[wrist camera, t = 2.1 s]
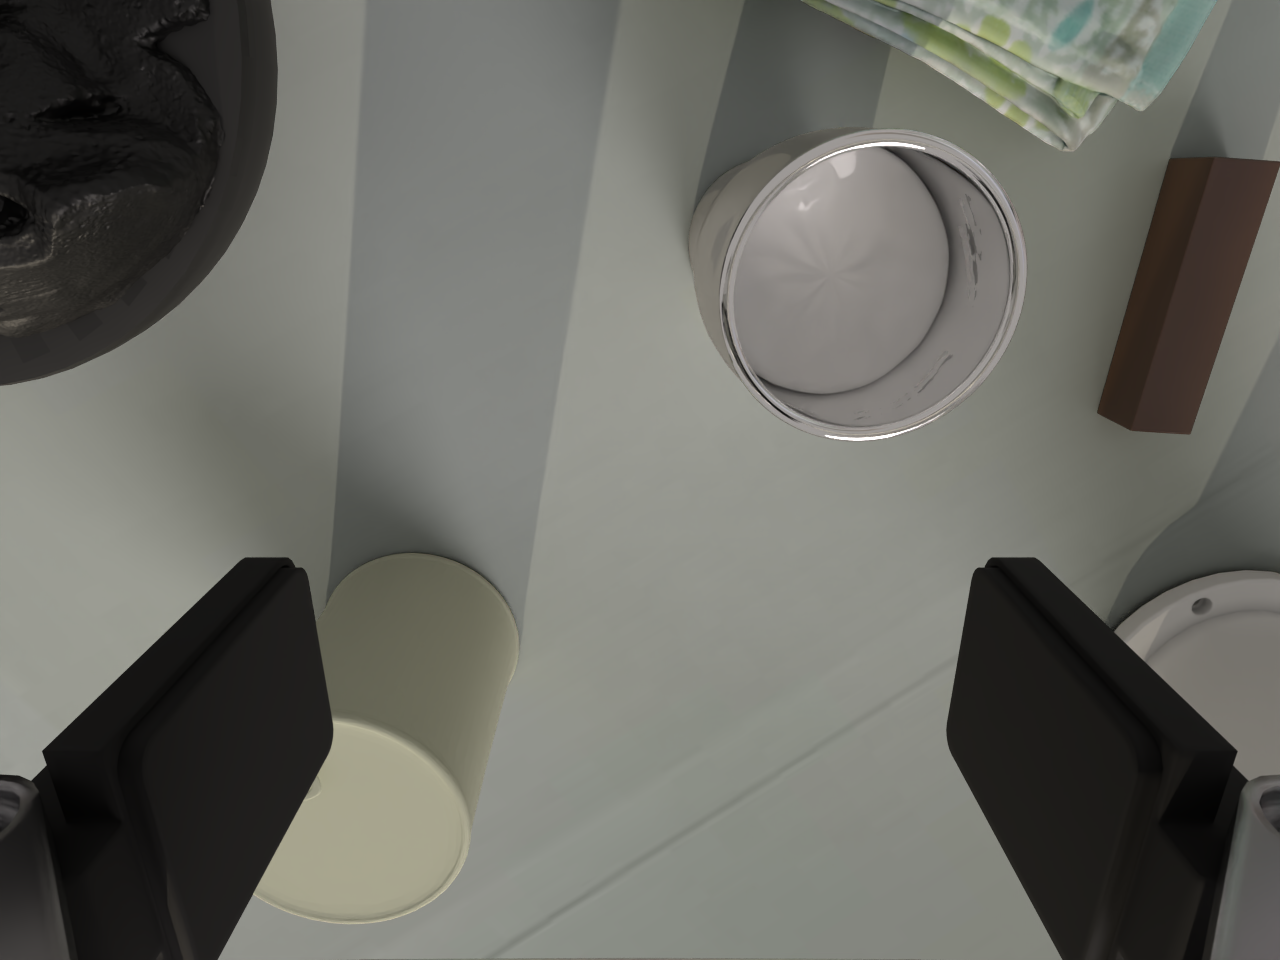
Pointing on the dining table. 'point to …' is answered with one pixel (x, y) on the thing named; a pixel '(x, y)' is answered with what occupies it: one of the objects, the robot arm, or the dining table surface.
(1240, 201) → the rail
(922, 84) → the dining table surface
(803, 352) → the beer glass
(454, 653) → the can
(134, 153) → the coal bowl
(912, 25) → the towel
